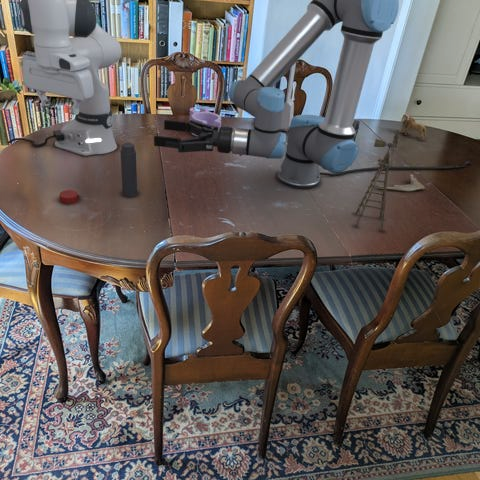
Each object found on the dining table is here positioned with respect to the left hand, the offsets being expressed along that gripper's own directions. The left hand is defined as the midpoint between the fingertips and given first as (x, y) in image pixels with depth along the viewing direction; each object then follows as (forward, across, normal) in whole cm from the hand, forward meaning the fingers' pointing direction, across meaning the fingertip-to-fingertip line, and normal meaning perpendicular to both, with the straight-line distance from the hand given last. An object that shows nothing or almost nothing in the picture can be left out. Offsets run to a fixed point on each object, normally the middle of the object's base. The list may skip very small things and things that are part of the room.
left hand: (60, 110), depth 126 cm
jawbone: (+27, +89, +70) cm, 116 cm away
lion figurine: (+27, +88, +131) cm, 161 cm away
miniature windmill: (+28, +84, +36) cm, 95 cm away
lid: (+26, -1, 0) cm, 26 cm away
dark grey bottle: (+28, +12, +13) cm, 33 cm away
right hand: (+6, +21, +16) cm, 27 cm away
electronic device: (+27, +31, +102) cm, 110 cm away
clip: (+27, +6, +78) cm, 83 cm away
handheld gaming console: (+27, +66, +94) cm, 119 cm away
